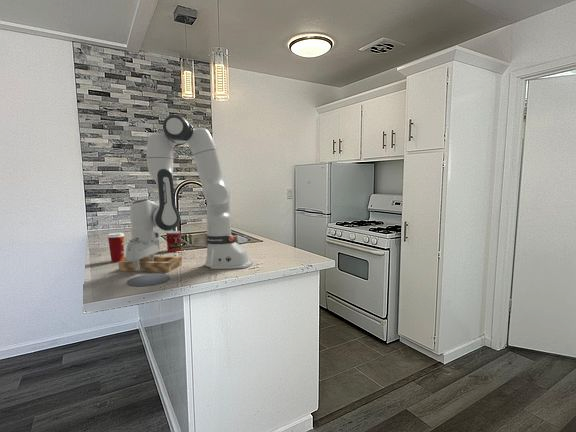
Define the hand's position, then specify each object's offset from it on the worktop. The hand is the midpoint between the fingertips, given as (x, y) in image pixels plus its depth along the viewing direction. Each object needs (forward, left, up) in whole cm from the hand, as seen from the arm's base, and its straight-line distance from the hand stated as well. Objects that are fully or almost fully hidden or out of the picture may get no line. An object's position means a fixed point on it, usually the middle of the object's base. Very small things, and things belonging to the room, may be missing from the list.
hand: (144, 266), depth 144 cm
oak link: (0, -5, -2) cm, 5 cm away
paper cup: (+25, -16, -2) cm, 30 cm away
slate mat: (-10, +13, -2) cm, 16 cm away
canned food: (+8, -42, -2) cm, 43 cm away
